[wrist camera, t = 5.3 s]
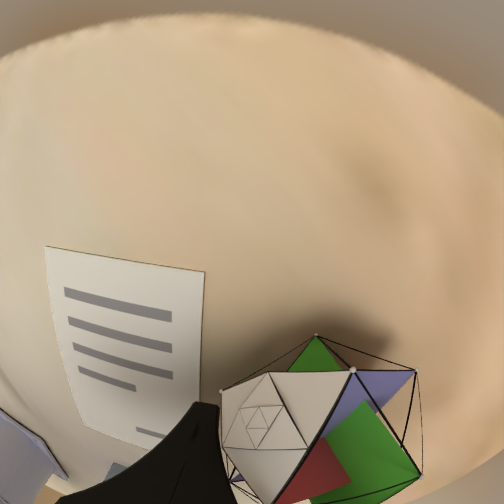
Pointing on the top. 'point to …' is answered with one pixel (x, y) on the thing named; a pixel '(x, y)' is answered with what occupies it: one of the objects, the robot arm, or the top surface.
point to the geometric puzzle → (317, 432)
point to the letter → (127, 341)
